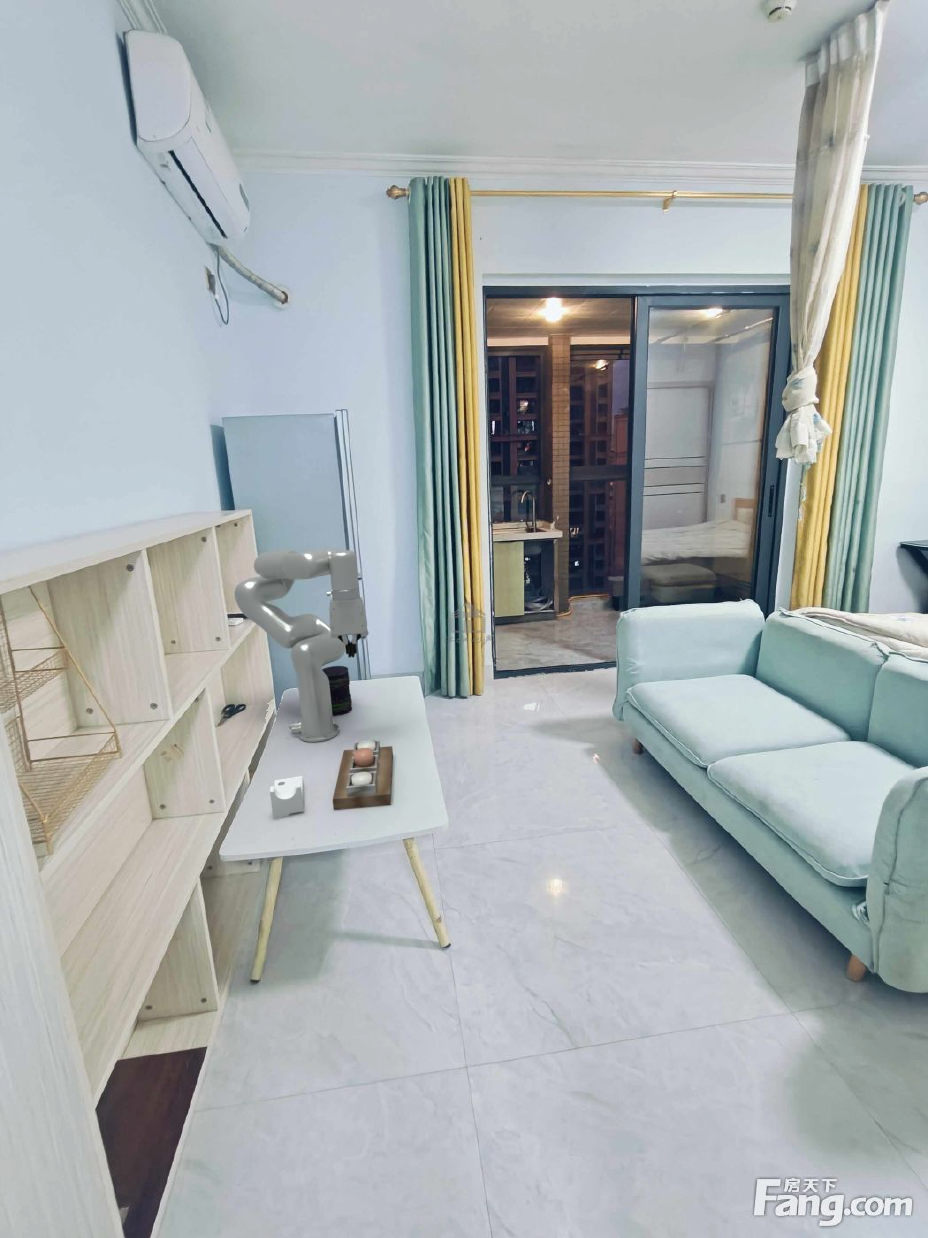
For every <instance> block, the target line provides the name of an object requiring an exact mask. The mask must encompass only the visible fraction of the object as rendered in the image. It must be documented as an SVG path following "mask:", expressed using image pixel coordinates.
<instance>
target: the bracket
mask: <svg viewBox="0 0 928 1238" xmlns="http://www.w3.org/2000/svg"><path fill="white" fill-rule="evenodd" d="M304 784H305V783H304V777H303V775H300V776H295V777H294V776H293V777H287V778H282V779H274V784H273V785H272V786H270V788H269V795H270V802H271V803H270V804H271V809H272V817H273V820H275V819H279V818H280V819H283V818H286V817H290V814H295V813H299V812H300V813H301V812H304V799H305V796H304V795H305V794H304V793H305V791H304V790H305V789H304V788H305V787H304V786H305V785H304Z"/></svg>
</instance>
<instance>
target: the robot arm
mask: <svg viewBox="0 0 928 1238" xmlns="http://www.w3.org/2000/svg"><path fill="white" fill-rule="evenodd" d="M253 568H254V571H255V573H256V574H257V575H258V576H256V577H251V578H248V579H245V580H243V581H241V582H239V583H238V584H237V585H236V587H235V588H234V599H235V602H236V605H237V607H238V609H239V610H240V611H241V613H242V615H244V617H246V618H247V619H249V620H250V621H251V622H252V623H254V624H256V625H258V626H259V627H260V628H261V629H262V630H263V631H264V632H265V633H266V634H267V635H268V636H269V637H270V638H272V639H273V641H275V642H276V643H277V644H278V645H279V646H280V647H282V648H284V649H286V650H289V649H291V651H290V659H291V662H292V665H293V669H294V672H295V676H296V683H297V690H298V697H299V704H300V705H299V707H300V713H301V714H300V715H301V721H299V722H289V724H288V728H289V730H291V732H297V731H298V737H299V739H300V740H301V741H304V742H307V743H308V742H309V743H318V742H319V743H320V742H323V741H324V742H325V741H327V740H330V739H333V738H334V737H336V736H337V735H338V734H339V733H340V728H339V725H338V724H336V723H334V716H333V714H332V705H331V696H330V686H329V680H328V677H327V675H326V674H325V673H324V672H323V671H322V669H323V668H322V667H324V666H326V665H328V664H331V663H333V662H336V661H338V660H340V659H342V657H343V656H344V655H347V657H348V658H355V656H356V654H357V653H358V650H357V642H358V641H359V640H360V639H362V638H363V637H367V636H369V633H370V632H369V630H368V622H367V620H368V619H367V612H366V609H365V603H364V600H363V597H362V596H361V594H360V587H359V586H360V585H359V573H358V563H357V555H356V553H355V552H354V550H348V549H342V550H341V549H339V548H336V547H327V548H322V549H321V548H319V549H314V550H308V551H304V552H303V551H302V552H299V551H297V550H295V549H290V548H284V549H277V550H273V551H265V552H262V553H261V554H258V556H257V557H256V558H255V560H254V563H253ZM329 575H330V582H331V583H330V584H331V585H330V586H331V590H329V591H326V596H327V597H330V598H331V599H330V601H329V609H328V610H329V624H328V623H326V622H325V621H324V620H323V619H321V617H319V616H318V615H315V614H313V613H303V614H300V615H295V616H292V615H291V616H290V615H288V613H286V612H285V611H284V610H283V609H281V608H280V607H278V606H277V605H273V604H271V603H267V602H271V601H275V600H279V599H283V598H284V597H286V596H287V595H288V594H289V592H290V591H291V589H292V587H293V586H294V583H295V582H296V581H297V580H299V581H300V580H310V579H315V578H319V577H324V576H329ZM349 636H352V637H351V641H350V639H349Z"/></svg>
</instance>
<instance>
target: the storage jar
mask: <svg viewBox="0 0 928 1238" xmlns="http://www.w3.org/2000/svg"><path fill="white" fill-rule="evenodd" d="M321 669H322V671H323V672H324V673H325V674H326V675H327V677H328V680H329V686H330V696H331V705H332V714H333V717H340V716H345V715H347V713H348V714H349V713H351V712H352V711H353V706H352V704H353V703H352V701H353V700H352V694H351V690H350V689H351V688H350V672H349V668H348V667H347V666H344V665H334V666H333V665H332V666H328V667H325V668H321ZM350 711H351V712H350ZM344 714H345V715H344Z"/></svg>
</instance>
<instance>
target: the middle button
mask: <svg viewBox="0 0 928 1238" xmlns="http://www.w3.org/2000/svg"><path fill="white" fill-rule="evenodd" d="M354 761H355V765H356V766H358V767H366V766H370V765H371V764H373V762H374V759H373V750H372V749H370V748H360V749H357V750H356V751H355V752H354Z"/></svg>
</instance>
